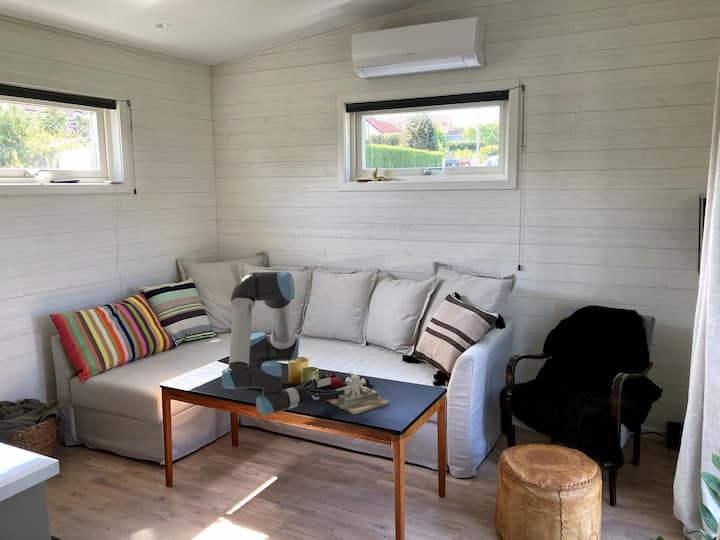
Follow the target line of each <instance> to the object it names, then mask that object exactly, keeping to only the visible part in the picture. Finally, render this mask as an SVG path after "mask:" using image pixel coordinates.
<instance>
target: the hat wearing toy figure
mask: <svg viewBox="0 0 720 540" xmlns="http://www.w3.org/2000/svg"><path fill="white" fill-rule="evenodd" d="M347 373H348V375H349V376H348V378H346V380H345V381H346V383H347V382H350V383H349V384H348V383H347V384H348V386H350V388H351V389H352V398H351V399H353V398H355V392H356V393H357V397H360V390H359V386H360V388H361V389H362V391H364V392H365V389H364V387H363V386H362V385H363V384H364V383H366V381H365V380H364V379H363V378H362V379H361V381H360V380H359V377H360V376H359V375H358V374H356V373H353V372H350V371H349V372H347ZM350 376H351V377H350ZM350 378H352V379H350ZM365 385H366V384H365Z"/></svg>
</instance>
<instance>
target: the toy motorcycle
mask: <svg viewBox="0 0 720 540" xmlns="http://www.w3.org/2000/svg"><path fill="white" fill-rule="evenodd" d="M329 377H330V378H331V384H329V385H327V386H329V387H330V388H336V389H337V388H343V387H347V386H348V384H349V383H350V382H347V383H348V384H347V383H346V381H345V380H346V378H348V377H349V376H348V377H346V376H345V377H344V376H342V377H341V376H337V375H336V374H335V373H334V372H331V371H329V372H323V373H322V374H320V376H319V380H322V379H325V378H329ZM349 378H350V379H352V378H351V377H349ZM362 378H363V379H364V380H365V381H366V383H364V384H363V385H362V386H364V387H368V386H369V384H370V380H369V379H368V378H367V377H363V376H362V377H361V376H359V380H360V381H361V379H362ZM365 384H366V385H365ZM359 387H360V386H359ZM350 390H351V388H350Z"/></svg>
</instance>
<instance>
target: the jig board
mask: <svg viewBox="0 0 720 540" xmlns="http://www.w3.org/2000/svg"><path fill="white" fill-rule="evenodd" d="M363 387H364V386H363ZM364 389H365V392H364V391H362V389H361V388H360V387H359V390H360V397H357V393H356V392H355V398H353V399H351V398H352V389H351V390H350V393H348V394H344V395H341V396H339V399H333V400H325V401H326V402H327V403H329V404H332V405H333V406H335V407H337V408H339V409H342V410H343V409H344V411H345V410H346V412H347V411H348V413H349V412H350V413H349V414H351V413H352V415H353V414H354V415H357V414H360V413H364V412H367V411H370V410H373V409H376V408H380V407H383V406H387V405H388V404H389V400H387V399H385V398H381V397H379V392H378V391H376V390H373V389H372V388H369V387H368V386H366V387H364Z"/></svg>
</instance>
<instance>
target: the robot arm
mask: <svg viewBox="0 0 720 540" xmlns="http://www.w3.org/2000/svg"><path fill="white" fill-rule="evenodd" d="M295 294H296V290H295V282H294V278H293V275H292V273H290V272H289V271H266V272H265V271H264V272H263V271H262V272H258V271H254V272H250V273H248V274H246V275H244V276H242V277H241V278H240V279H239V280H238V282H236V284H235V287H234V288H233V290H232V293H231V297H230V306H231V307H232V314H231V316H232V317H231V329H230V330H231V331H230V346H229V358H228V359H229V360H228V367H227V368H224V369H222V373H221V385H222V387H223V388H224V389H229V390H231V389H232V390H237V389H238V390H239V389H240V390H242V389H248V388H249V389H250V388H251V389H252V390H253V388H254V389H255V388H256V389H262V394H261V395H258V396H257V397H256V401H255V407H256V409H257V412H258V413H259V414H261V416H266V415H272V414H276V413H279V412H282V411H286V410H291V409H293V408H296V407H301V406H304V405H307V403H308V402H309V400H313V402H319V401H326V400H333V399H339V396H341V395H344V394H348V393H350V386H347V387H338V388H336V389H335V390H321V389H320V388H321V387H325V386H328V385H329V384H331V378H330V377H329V378H325V379H322V380H320V379H319V380H318V379H316V378H313V379H309V380H308V381H306V382H304V383H303V384H300V385H297V386H292V387H288V388H284V389H283V371H282V364H281V362H291V360H294V361H296V359H297V360H298V358H299V349H300V336H299V335H297V334H295V332H294V331H293V329H292V323H291V313H290V303H291V302H292V300H294V298H295ZM259 301H260V302H261V301H262V302H264V304H265V305H266V307H268V311H269V317H270V325H271V327H270V328H271V334H270V335H267V333H266V332H262V331H260V332H253V333H252V320H253V319H252V316H253V315H252V314H253V308H254V307H255V305H256V302H259ZM316 388H317V389H316ZM318 388H319V389H318ZM251 389H250V390H251ZM256 389H255V390H256Z"/></svg>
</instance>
